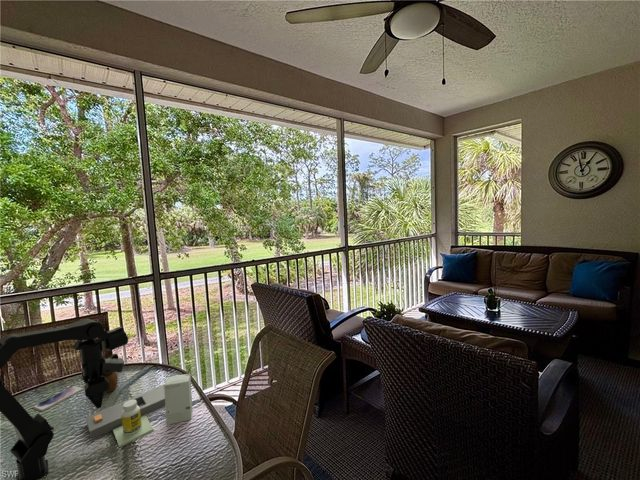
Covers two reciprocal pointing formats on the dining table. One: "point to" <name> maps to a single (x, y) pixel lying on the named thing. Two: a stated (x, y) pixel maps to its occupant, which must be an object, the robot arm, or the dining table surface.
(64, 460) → the dining table surface
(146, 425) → the pad
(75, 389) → the smartphone
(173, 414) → the skincare box
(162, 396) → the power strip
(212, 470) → the dining table surface
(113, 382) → the wooden figurine
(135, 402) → the supplement bottle
